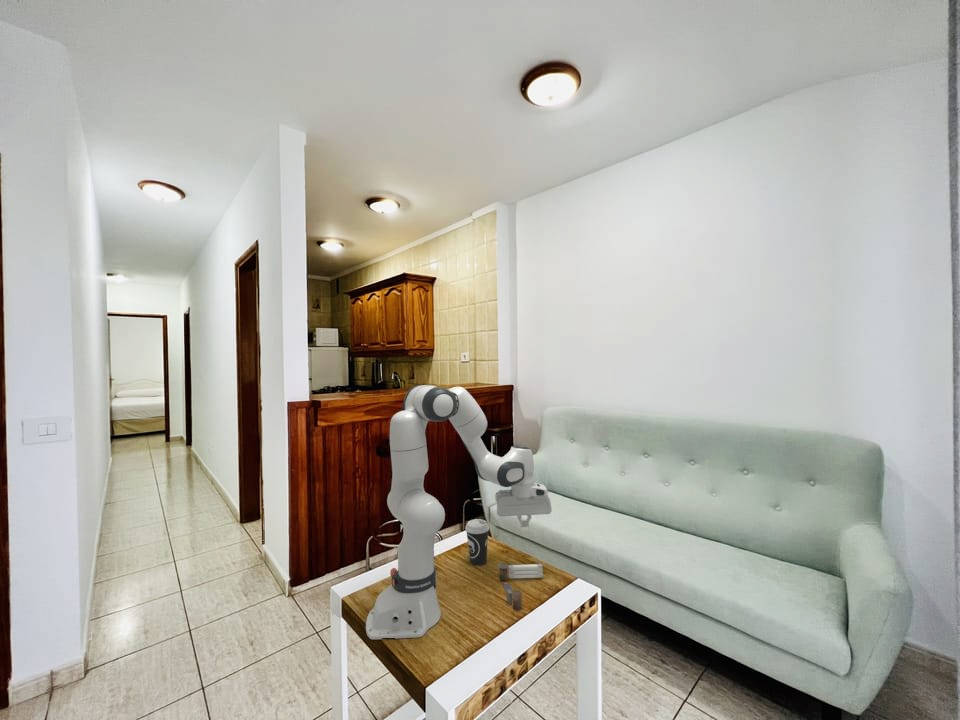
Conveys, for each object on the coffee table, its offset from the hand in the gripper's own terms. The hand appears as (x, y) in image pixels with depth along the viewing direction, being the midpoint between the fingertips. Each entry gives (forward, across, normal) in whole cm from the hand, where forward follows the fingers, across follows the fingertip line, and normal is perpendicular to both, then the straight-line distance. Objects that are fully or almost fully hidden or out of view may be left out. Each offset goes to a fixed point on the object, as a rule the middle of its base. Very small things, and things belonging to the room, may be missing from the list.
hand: (524, 526), depth 141 cm
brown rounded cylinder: (+16, -6, -20) cm, 26 cm away
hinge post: (+16, -9, -5) cm, 20 cm away
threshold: (+16, -7, -13) cm, 22 cm away
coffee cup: (+17, -18, +8) cm, 26 cm away
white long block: (+16, -1, -5) cm, 17 cm away
